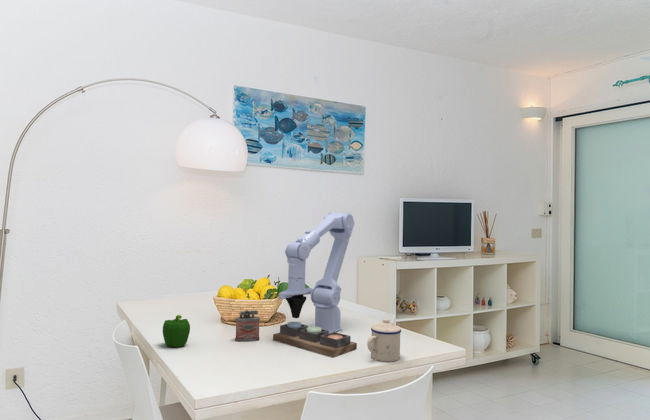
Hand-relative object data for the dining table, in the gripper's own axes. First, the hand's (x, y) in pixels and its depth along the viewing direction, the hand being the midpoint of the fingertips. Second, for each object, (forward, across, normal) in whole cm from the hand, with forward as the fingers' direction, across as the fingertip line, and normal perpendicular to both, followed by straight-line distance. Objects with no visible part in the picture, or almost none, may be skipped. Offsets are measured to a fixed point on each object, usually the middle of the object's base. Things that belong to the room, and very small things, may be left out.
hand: (295, 317), depth 162 cm
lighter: (+8, +12, -11) cm, 18 cm away
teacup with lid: (+8, -4, +32) cm, 34 cm away
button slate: (+4, 0, 0) cm, 4 cm away
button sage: (+4, 0, +8) cm, 9 cm away
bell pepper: (+8, +32, -22) cm, 39 cm away
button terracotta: (+5, 0, +17) cm, 18 cm away
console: (+7, 0, +8) cm, 11 cm away
